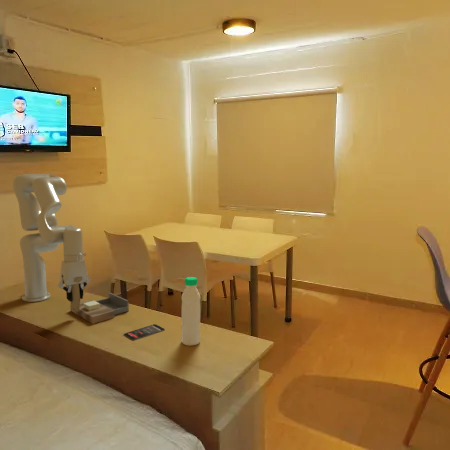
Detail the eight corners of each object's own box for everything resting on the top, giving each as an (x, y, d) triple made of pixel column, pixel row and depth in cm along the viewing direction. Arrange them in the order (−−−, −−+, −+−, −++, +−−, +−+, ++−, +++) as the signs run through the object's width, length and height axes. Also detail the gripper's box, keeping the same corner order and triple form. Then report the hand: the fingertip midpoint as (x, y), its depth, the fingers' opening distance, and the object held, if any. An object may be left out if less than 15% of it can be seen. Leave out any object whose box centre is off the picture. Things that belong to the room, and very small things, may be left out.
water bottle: (183, 347, 151) (183, 281, 147) (179, 339, 158) (179, 276, 154) (202, 345, 153) (202, 280, 149) (197, 337, 160) (198, 274, 156)
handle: (71, 308, 178) (70, 274, 176) (85, 309, 177) (84, 275, 175) (65, 312, 174) (64, 278, 171) (80, 313, 173) (78, 279, 170)
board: (70, 311, 185) (70, 304, 184) (91, 305, 192) (91, 299, 191) (92, 323, 171) (92, 317, 170) (114, 317, 178) (114, 310, 177)
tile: (83, 307, 181) (83, 303, 180) (94, 304, 184) (94, 300, 184) (89, 310, 177) (89, 306, 177) (99, 307, 181) (99, 303, 180)
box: (94, 306, 190) (93, 296, 190) (110, 302, 196) (109, 292, 195) (112, 316, 179) (112, 305, 179) (128, 311, 185) (128, 300, 184)
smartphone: (122, 333, 161) (155, 323, 171) (122, 335, 161) (155, 325, 171) (132, 340, 156) (165, 329, 166) (132, 341, 156) (165, 330, 166)
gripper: (88, 252, 180) (89, 293, 183) (49, 258, 169) (51, 301, 172) (96, 256, 175) (97, 297, 178) (57, 262, 163) (59, 306, 166)
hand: (75, 299), depth 175 cm, fingers closed on handle, 4 cm apart
